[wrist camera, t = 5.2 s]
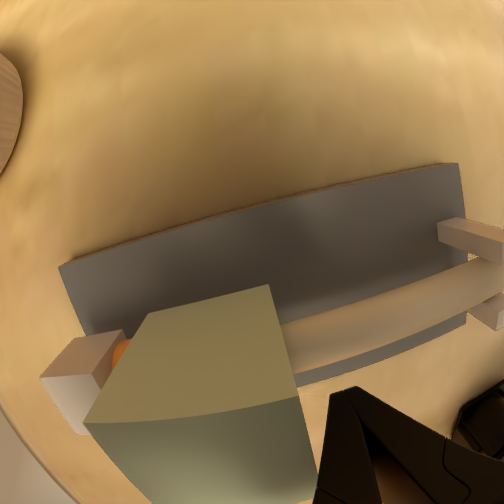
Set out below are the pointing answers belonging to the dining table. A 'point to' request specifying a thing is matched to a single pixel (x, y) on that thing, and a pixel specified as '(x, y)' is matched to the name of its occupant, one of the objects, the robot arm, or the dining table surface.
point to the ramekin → (9, 108)
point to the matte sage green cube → (208, 407)
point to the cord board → (297, 277)
